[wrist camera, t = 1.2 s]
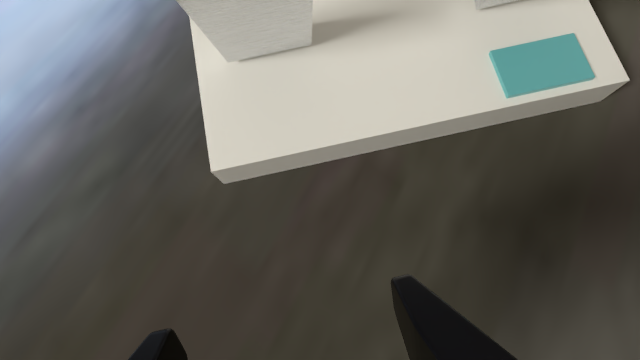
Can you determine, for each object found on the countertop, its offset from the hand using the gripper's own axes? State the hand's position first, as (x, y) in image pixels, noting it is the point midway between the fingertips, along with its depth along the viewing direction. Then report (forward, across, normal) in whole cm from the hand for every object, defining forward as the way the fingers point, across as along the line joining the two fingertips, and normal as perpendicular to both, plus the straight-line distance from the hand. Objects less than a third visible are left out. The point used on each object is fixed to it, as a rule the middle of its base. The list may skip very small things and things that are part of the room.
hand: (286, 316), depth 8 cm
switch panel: (+20, -8, -1) cm, 22 cm away
